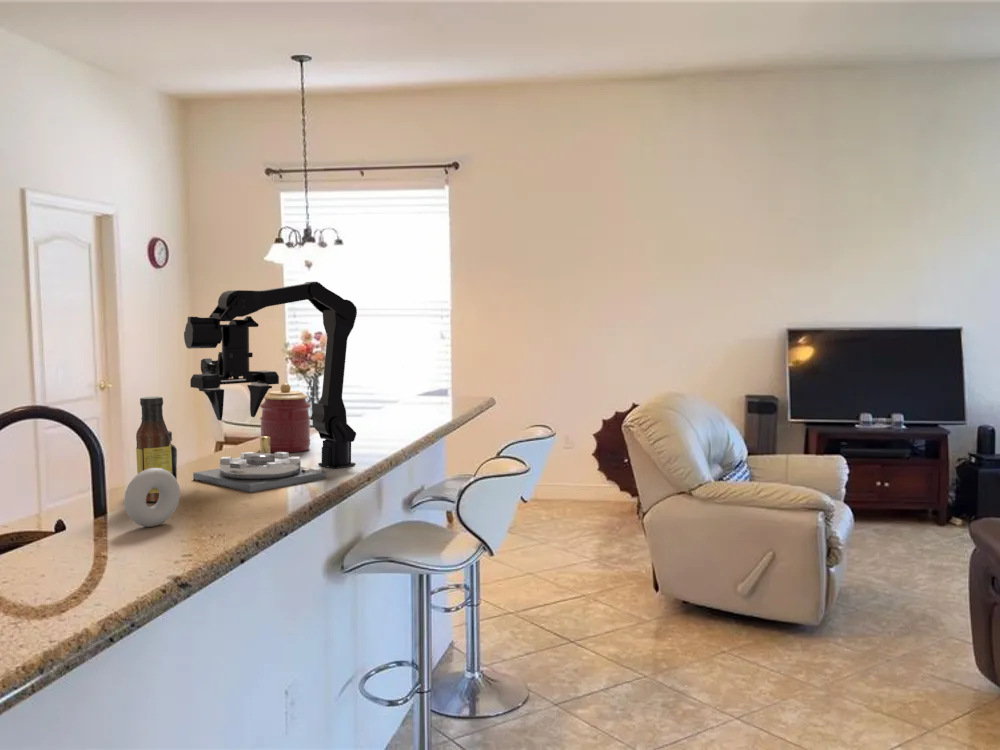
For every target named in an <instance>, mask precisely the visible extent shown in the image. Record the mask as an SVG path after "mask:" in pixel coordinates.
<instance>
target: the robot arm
mask: <svg viewBox="0 0 1000 750" xmlns="http://www.w3.org/2000/svg"><path fill="white" fill-rule="evenodd" d="M218 297H219V298H218V300H217V305H216V306H215V308H214V310H213V311H212V312H211V313H210V315H209V316H208V317H198V316H187V323H186V325H185V330H184V331H183V340H184V343H185V346H186V348H187V349H215V348H217V347H218V345H220V344H221V351H219V352H218V354H217V359H216V360H213V359H212V357H211V358H210V357H209V358H207V357H206V358H203V359H201V360H200V371H201V372H200V373H196V374H193V375H192V376H191V378H190V388H194V389H198V392H203V393H204V394H205V395H206V397H207V398H208V400H209V402H210V404H211V406H212V409H213V411H214V414H215V417H216V419H217V420H218V421H223V420H222V419H223V414H224V401H225V400H224V399H225V389H223V388H221V386H222V385H235V384H246V385H247V388H248V391H249V411H250V413H249V414H250V417H251V418H255V417H256V415H257V413H258V411H259V409H260V408H261V407H260V405H261V404H262V402H263V400H264V399H265V398H264V397H265V395H267V394H268V392H269V390H270V389H273V385H280V376H279V374H278V373H277V371H274V370H272V371H271V370H253V371H252V370H250V358H253V352H250V328H258V327H259V326H260V325H259V323H258V322H256V321H255V320H254V319H253V317H252V316H251V314H254V313H257V312H259V311H260V310H263V309H265V308H267V307H273V306H278V305H284V304H289V303H296V302H301V301H306V300H307V301H309V302H310V303H311V305H312V306H313V307H314V308H315V309H316V310H318V311H319V313H322V324H323V327H324V331H325V333H326V346H325V358H324V368H323V369H324V370H323V381H322V391H321V397H320V398H319V400H318V402H317V403H316V402H312V403H311V416H310V421H312V426H313V428H314V430H316V431H317V432H318V434H319V437H320V439H322V446H321V462H318V464H317V465H318V466H321V467H326V468H331V469H341V468H346V467H352V466H356V465H357V464H356V462H352V442H355V439H356V436H357V432H356V431H355V430H354V429H353V428H352V427H351V425H349V424H348V423H347V422H348V420H347V410H346V406H345V403H344V400H343V390H344V381H345V380H344V378H345V369H346V368H345V367H346V359H347V345H348V338H349V336H350V335H351V332H352V331H353V329H354V326H355V323H356V319H357V314H358V312H357V311H358V309H357V306H356V305H355V304H354V303H353V302H352V301H351V300H349V299H344V298H343V297H341V296H340V295H338V294H337V293H335V292H333V291H332V290H331V289H328V288H327V287H325V286H324V285H323V284H322V283H321V282H319V281H306V282H304V283H299V284H294V285H287V286H286V285H285V286H282V287H280V286H279V287H276V288H275V287H274V288H269V289H263V290H248V289H247V290H241V289H239V290H236V289H235V290H227V291H226V290H225V291H223V292H222V293H221V294H220V296H218ZM237 317H238V318H239V317H240V318H243V317H245V318H244V319H235V318H237ZM221 322H229V323H228V324H221ZM249 383H250V384H249Z"/></svg>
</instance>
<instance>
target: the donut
mask: <svg viewBox="0 0 1000 750" xmlns="http://www.w3.org/2000/svg"><path fill="white" fill-rule="evenodd" d="M154 487H156V488H157V489H158V490H159V499H158V501H157V502H155V503H154V505H152V506H149V505H148V504H147V502H146V496H147V494H148V492H149V491H150V490H151V489H152V488H154ZM180 496H181V491H180V484H179V483H178V479H177V480H176V478H175V477H174V476H173V475H172V474H171V473H170V472H169V471H167V470H164V469H162V468H150V469H147V470H144V471H142V472H140V473H139V474H138V475H137V474H136V475H135V476H134V477H133V478H132V479H131V481H130V482H129V483H128V485H127V487H126V490H125V493H124V500H123V504H124V510H125V512H126V514H127V515H128V518H129V519H130V520H131V521H132V522H134V523H135V524H136V525H138V526H142V527H143V528H145V527H148V528H149V527H157V526H158V525H161V524H164V523H165V522H166V521H167V520H169V519H170V518H171V517H172V516H173V514H174V513H175V511H176V510H177V507H178V505H179V502H180V498H181V497H180Z"/></svg>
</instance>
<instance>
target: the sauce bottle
mask: <svg viewBox="0 0 1000 750" xmlns="http://www.w3.org/2000/svg"><path fill="white" fill-rule="evenodd" d="M139 404H140V407H141V423H140V425H139V427H138V428H137V431H136V435H135V436H136V438H135V439H136V449H135V451H136V468H137V469H136V470H137V474H136V475H138V474H139V473H140V472H142V471H144V470H147V469H150V468H162V469H164V470H167V471H169V472H170V473H171V474H172V453H171V444H172V441H171V438H170V436H169V433H168V431H169V430H168V429H167V428H168V427H167V425H166V422H165V420H164V416H163V405H164V398H163V396H144V397H140V399H139ZM172 475H173V474H172ZM158 499H159V490H158V489H157V488H156V487H154V488H152V489H151V490H150V491H149V492H148V494H147V496H146V503H157V501H158Z"/></svg>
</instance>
